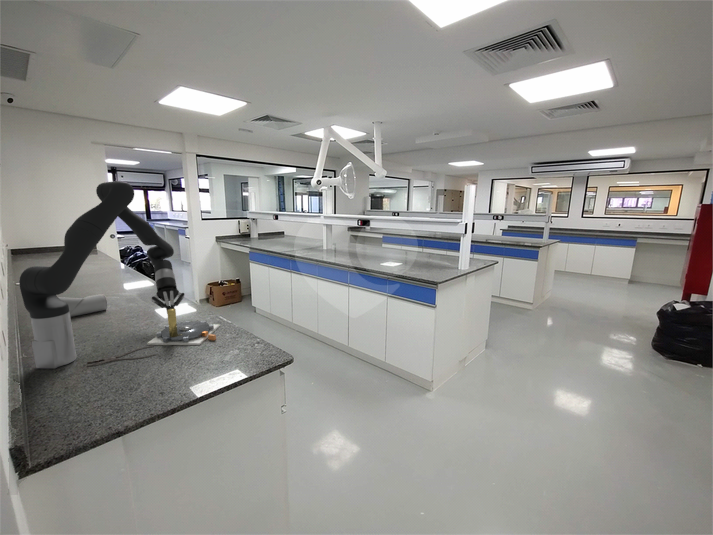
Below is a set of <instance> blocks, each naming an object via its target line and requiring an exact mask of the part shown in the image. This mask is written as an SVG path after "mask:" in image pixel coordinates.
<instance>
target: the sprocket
mask: <svg viewBox="0 0 713 535" xmlns="http://www.w3.org/2000/svg"><path fill="white" fill-rule="evenodd" d="M176 311H177V310H176V308H174V309H168V310H166V314H167V322H168V324H167V325H165V326H164V328H163V329H162V330H161V331H156V337H162V339H163V342H169V341H184V342H188V341H189V340H191V339H195V338H198V337H201V336H207V335H208V332H209V331H210V330H211V329H214V326H213V325H209V323H207V320H205V319H204V320H201V321H198V320H194V321H190V320H184V321H183V322H179V323H178V321H177V312H176Z"/></svg>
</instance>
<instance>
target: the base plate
mask: <svg viewBox="0 0 713 535" xmlns="http://www.w3.org/2000/svg"><path fill="white" fill-rule="evenodd" d="M208 324H209V323H208ZM209 325H213V326H214V329H211V330H210V331H209V332H208V335H207V336H201V337H198V338H195V339H191V340H189V341H188V342H184V341H169V342H163V339H162V337H157V336H154V338H152V339H151V340H149V341H148V342H147V346H161V345H162V346H200V345H202V344H203V343H204V342H205V341H206V340H209V341H215V340H217V335H216V334H213V333H215V331H216V330H218V329H219V328H220V326H221V325H220V324H217V323H216V324H215V323H213V324H212V323H211V324H209Z"/></svg>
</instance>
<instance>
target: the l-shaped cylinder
mask: <svg viewBox="0 0 713 535" xmlns="http://www.w3.org/2000/svg"><path fill="white" fill-rule="evenodd" d="M57 297H58V298H59V299H60V300H62V301H64V302H66V303H67V304H68V305H69V311H70V318H72V317H77V316H82V315H86V314H91V313H96V312H97V313H98V312H102V311H106V310H107V309H108V300H107V297H106V295H105V294H103V293H100V294H94V295H88V296H87V295H86V296H85V297H84V298H83V297H82V298H81V297H64V296H62V297H60V296H57Z"/></svg>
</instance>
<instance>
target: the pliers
mask: <svg viewBox="0 0 713 535" xmlns="http://www.w3.org/2000/svg"><path fill="white" fill-rule="evenodd" d="M154 346H155V345H147V346H143V347H138V348H135V349H133V350H130V351H128V352H125V353H122V354H119V355H114V356H108V357H104V358H99V359H95V360H90V361H87V362H86V364H87V365H86V368H89V367H96V366H101V365H105V364H109V363H113V362H118V361H127V360H128V361H129V360H140V359H146V358H150V357H155V356H157V354H156V353H153V354H149V355H145V356H137V357H126V356H127V355H130V354H132V353H134V352H137V351H139V350H144V349H147V348H148V349H150V348H154Z"/></svg>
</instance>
